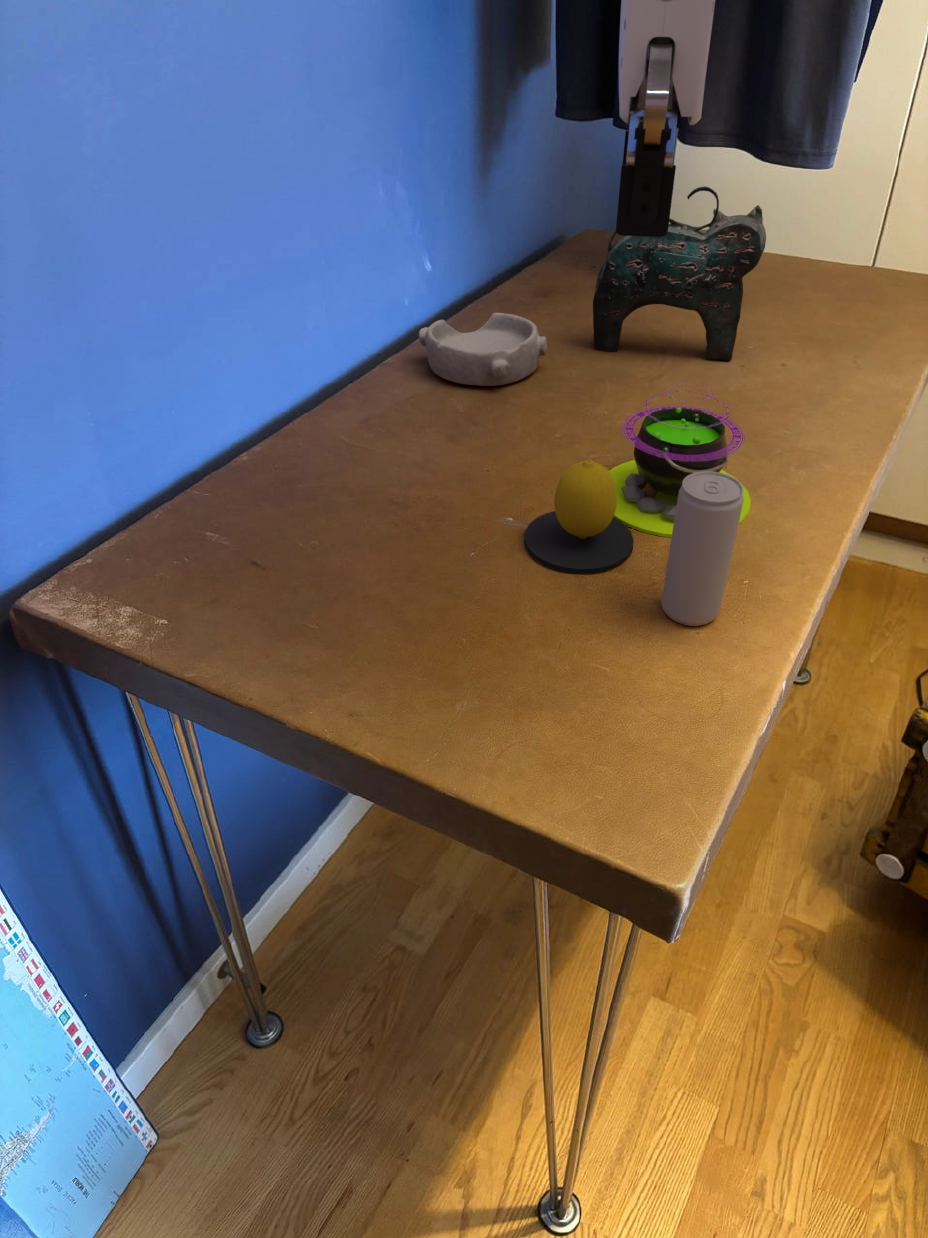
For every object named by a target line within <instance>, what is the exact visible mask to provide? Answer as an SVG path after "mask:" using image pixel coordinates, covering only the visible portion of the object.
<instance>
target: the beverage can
mask: <svg viewBox="0 0 928 1238" xmlns="http://www.w3.org/2000/svg"><path fill="white" fill-rule="evenodd" d="M733 477H734V476H733ZM733 477H731V476H729V475H726V474H723V473H719V472H711V471H703V472H696V473H692V474H690V475H688V476H687V477H685V478H684V480H683V482H682V486H681V488H680V490H679V494H678V500H677V506H676V513H675V519H674V525H673V531H672V537H670V538H671V539H670V544H669V551H668V558H667V565H666V571H665V577H664V583H663V590H662V597H661V607H662V610H663V612H664V613H665V614H666V615H667V616H668V617H669V619H671V620H673V621H674V622H676V623H678V624H681V625H684V626H689V627H699V626H704V625H707V624H709V623H710V622H712V621H714V620H716V618H717V617H718V616H719V615H720V613H721V608H722V603H723V599H724V593H725V589H726V584H727V580H728V575H729V572H730V571H729V570H730V566H731V561H732V556H733V551H734V548H735V543H736V538H737V533H738V529H739V525H740V524H739V520H740V515H741V510H742V506H743V500H744V498H743V492H744V490H743V486H744V485H743V486H742V484H743V483H742V482H741V481H740V480H739V479H737V478H736V477H735V478H736V479H735V478H733ZM740 482H741V483H742V484H741V483H740ZM738 524H739V525H738Z"/></svg>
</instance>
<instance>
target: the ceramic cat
mask: <svg viewBox="0 0 928 1238" xmlns="http://www.w3.org/2000/svg"><path fill="white" fill-rule="evenodd" d="M699 192H709V193H710V194H712V195H713V196H714V198H715V199H716V208H714V209H713V212H712V213H713V217H712V220H711V221H710V222H709V223H707V224H703V225H700V226H692V225H690V224H687V223H682V222H680V221H676V220H674V219H672V218H670V219H669V227H668V232H667V234H666V235H665V236H663V237H647V236H622V237H620V238H619V239H618V240H617V242H615V243H614V245H612V243H613V241H614V239H615V237H616V236H617V235H618V233H617V232H616V229H615V230H614V231H613V233H612V235H611V237H610V238H609V239H610V240H609V242H608V245H607V248H606V249H607V255H606V256H605V257H606V258H605V260H604V262H603V263H602V265H601V266H600V269H599V271H598V274H597V277H596V282H595V289H594V294H593V300H592V325H593V326H592V327H593V348H594V350H596V351H603V352H604V351H605V352H617V351H618V350H619V346H620V341H621V335H622V329H623V324H624V321H625V319H627V317H629V315H631V314H632V313H633V312H635V311H636V310H638V309H641V308H643V307H646V306H650V305H651V306H652V305H663V306H669V307H672V308H676V309H677V308H678V309H683V310H688V311H694V312H696V313H697V314H698V315H699V317H700V319H701V322H702V324H703V326H704V330H705V341H706V348H705V360H706V361H707V360H708V361H715V360H719V361H726V362H730V361H732V357H733V353H734V348H735V344H736V340H737V335H738V334H737V333H738V327H739V323H740V319H741V314H742V313H741V312H742V305H743V304H742V303H743V296H744V282H743V278H744V277H745V276H746V275H748V274H749V273H751V272H752V270H754V269H755V268H756V267H757V266H758V264H759V263H760V260H761V258H762V255H763V254H764V251H765V248H766V242H767V232H766V227H765V226H764V223H763V221H764V217H763V209H762V208H761V207H760V205H758V204H757V205H756V206H755V207H754V208H753V209H752V210H751V211H750V212H749V213H748V214H735V215H726V214H725V213H723V212H722V211H721V210H719V207H720V199H719V195H718V194H717V192H716V191H715V190H714V189H713V188H711V187H709V186H698V187H696V188H694V189H693V190H692V191H690V192H689V193H688V195H687V196H686V198H687V200H690V198H691V197H692V196H693V195H695V194H697V193H699ZM706 228H707V229H706Z"/></svg>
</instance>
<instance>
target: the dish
mask: <svg viewBox="0 0 928 1238" xmlns="http://www.w3.org/2000/svg"><path fill="white" fill-rule="evenodd" d="M418 337H419V338H418V339H419V342H420V345H421V346H423V347H425V350H426V356H427V361H428V365H429V367H430V369H431V371H432V372H433V373H434V374H435V375H437V376H439V378H442V379H444V380H447V381H449V382H453V383H456V384H462V385H468V386H469V385H470V386H478V387H479V386H481V387H494V386H503V385H508V384H512V383H515V382H518V381H520V380H523V379H525V378H526V377H528V376H530V375H531V374H532V373H534V372H535V371H536V370H537V368H538V366H539V363H540V357H541V356H542V357H543V356H545V355H546V354H547V350H548V340H547V336H545V335H542V336H541V335H540V333H539V330H538V327H537V325H536V324H535V323H534V322H532V321H531V320H529V319H527V318H526V317H522V316H519V315H516V314H511V313H504V312H493V313H492V314H491V315H490V317H489V318H488V319H487V321H486V322H485V323H484V324H483V325H482V326H481V327H480V328H478V329H476V330H474V331H469V332H461V331H460V332H459V331H458V330H456V329H454V328H453V327H451V325H449V324H448V323H447V321H446V320H445V319H439V320H436V321H434V322H432V323H431V324H430V325H429V326H425V327H422V328H420V330H419V331H418Z"/></svg>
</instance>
